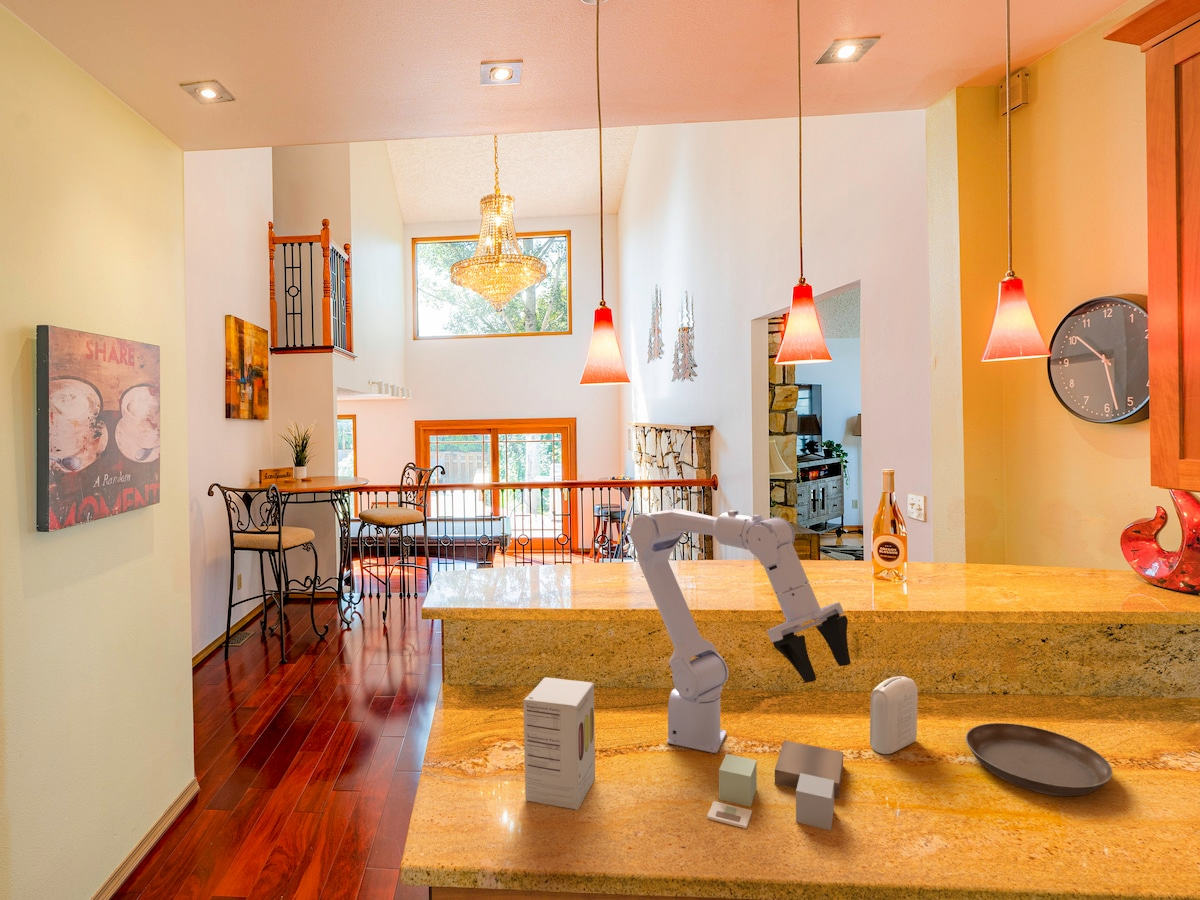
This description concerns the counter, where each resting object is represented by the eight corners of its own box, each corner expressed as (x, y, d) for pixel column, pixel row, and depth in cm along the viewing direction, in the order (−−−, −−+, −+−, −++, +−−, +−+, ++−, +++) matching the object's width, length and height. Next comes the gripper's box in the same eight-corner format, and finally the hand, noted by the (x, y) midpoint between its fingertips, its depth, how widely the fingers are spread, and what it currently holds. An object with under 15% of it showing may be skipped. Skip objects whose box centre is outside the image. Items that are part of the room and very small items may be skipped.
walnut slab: (774, 786, 106) (774, 769, 106) (783, 756, 116) (783, 740, 115) (838, 801, 102) (839, 783, 102) (843, 768, 111) (843, 751, 111)
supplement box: (578, 811, 100) (576, 707, 99) (523, 802, 103) (521, 700, 101) (596, 777, 109) (595, 681, 108) (546, 769, 112) (544, 675, 111)
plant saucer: (955, 730, 123) (955, 713, 123) (1083, 748, 116) (1084, 730, 116) (979, 792, 104) (979, 773, 103) (1135, 818, 97) (1136, 797, 97)
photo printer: (898, 731, 123) (899, 668, 122) (920, 740, 119) (921, 676, 118) (865, 747, 117) (866, 682, 116) (887, 758, 113) (888, 690, 113)
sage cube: (719, 799, 103) (718, 769, 102) (726, 782, 107) (726, 753, 107) (750, 807, 101) (750, 776, 100) (756, 789, 105) (756, 760, 105)
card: (707, 818, 98) (707, 815, 98) (713, 803, 101) (713, 800, 101) (746, 828, 95) (746, 825, 95) (751, 812, 99) (751, 809, 99)
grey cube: (795, 822, 97) (796, 790, 96) (800, 803, 101) (800, 773, 101) (831, 831, 95) (831, 798, 94) (833, 811, 99) (834, 780, 99)
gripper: (773, 596, 98) (811, 686, 94) (840, 572, 104) (878, 655, 100) (747, 605, 104) (782, 690, 100) (812, 581, 110) (846, 660, 106)
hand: (828, 673), depth 100 cm, fingers open, 7 cm apart
